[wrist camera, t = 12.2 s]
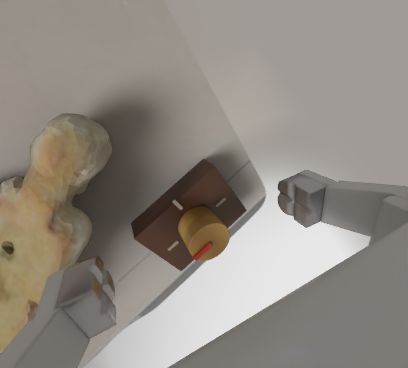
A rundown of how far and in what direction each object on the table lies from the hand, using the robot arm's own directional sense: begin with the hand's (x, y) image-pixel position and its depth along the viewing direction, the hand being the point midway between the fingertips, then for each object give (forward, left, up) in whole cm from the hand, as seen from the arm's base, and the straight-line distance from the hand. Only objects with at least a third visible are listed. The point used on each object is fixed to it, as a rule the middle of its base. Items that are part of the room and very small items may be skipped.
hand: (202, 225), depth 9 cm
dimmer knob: (+1, +9, -11) cm, 14 cm away
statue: (+16, 0, -14) cm, 21 cm away
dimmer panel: (+1, +9, -14) cm, 17 cm away
